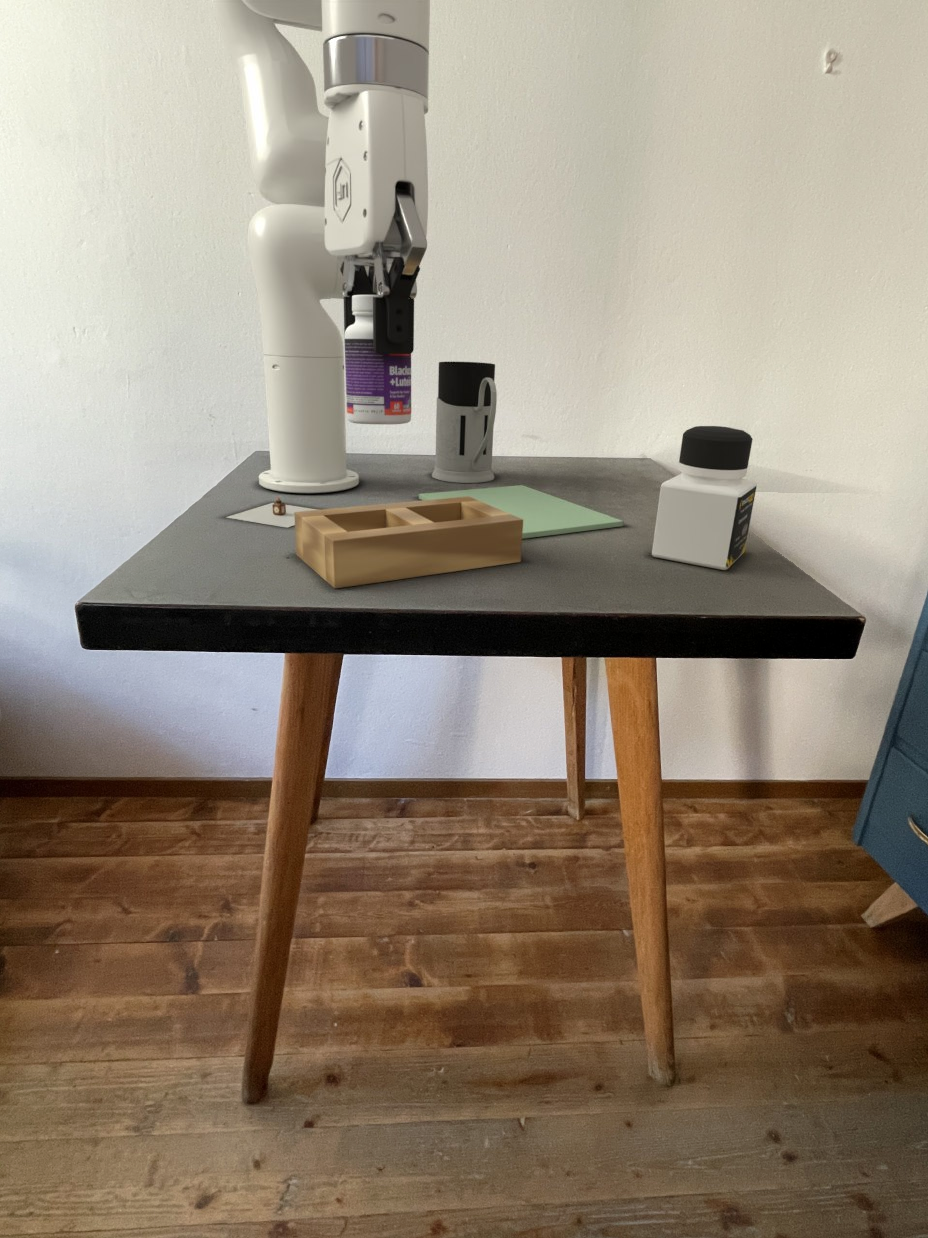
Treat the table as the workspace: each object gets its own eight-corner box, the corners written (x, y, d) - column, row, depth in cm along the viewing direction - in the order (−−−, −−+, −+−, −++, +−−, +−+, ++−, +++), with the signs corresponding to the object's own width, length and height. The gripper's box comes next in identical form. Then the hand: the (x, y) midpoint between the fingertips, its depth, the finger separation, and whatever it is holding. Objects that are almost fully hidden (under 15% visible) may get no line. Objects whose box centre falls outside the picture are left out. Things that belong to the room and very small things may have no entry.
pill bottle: (401, 426, 59) (399, 293, 56) (337, 424, 60) (332, 293, 57) (419, 420, 64) (418, 298, 61) (360, 418, 65) (356, 298, 62)
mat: (418, 498, 89) (418, 493, 89) (521, 489, 96) (522, 484, 96) (507, 540, 73) (507, 535, 73) (623, 526, 80) (623, 520, 80)
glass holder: (480, 469, 108) (485, 361, 103) (520, 489, 96) (528, 368, 91) (423, 471, 105) (425, 360, 100) (458, 492, 93) (461, 367, 88)
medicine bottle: (726, 571, 66) (750, 436, 62) (650, 557, 70) (667, 427, 65) (744, 553, 72) (768, 427, 68) (673, 540, 76) (690, 420, 71)
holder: (296, 555, 67) (294, 511, 65) (467, 534, 75) (468, 496, 74) (334, 589, 59) (332, 540, 57) (520, 562, 67) (523, 519, 66)
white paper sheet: (331, 511, 82) (330, 494, 81) (287, 527, 75) (286, 509, 75) (272, 502, 85) (271, 486, 84) (225, 517, 78) (223, 499, 78)
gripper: (290, 99, 58) (300, 344, 65) (374, 40, 45) (376, 358, 52) (378, 114, 62) (379, 345, 69) (481, 64, 48) (469, 359, 55)
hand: (377, 348), depth 60 cm, fingers closed on pill bottle, 5 cm apart
